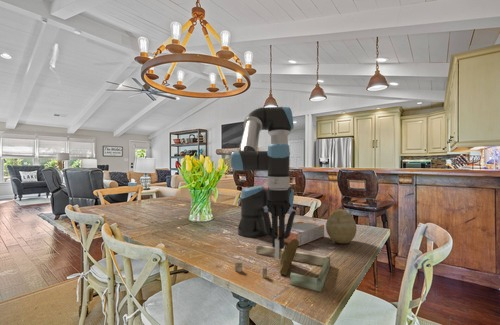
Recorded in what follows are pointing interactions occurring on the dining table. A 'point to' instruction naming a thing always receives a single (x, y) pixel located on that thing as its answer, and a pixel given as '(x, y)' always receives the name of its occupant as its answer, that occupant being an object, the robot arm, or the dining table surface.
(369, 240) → the dining table surface
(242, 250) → the dining table surface
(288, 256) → the rock
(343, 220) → the fossilized egg
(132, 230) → the dining table surface
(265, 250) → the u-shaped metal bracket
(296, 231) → the cracker box
